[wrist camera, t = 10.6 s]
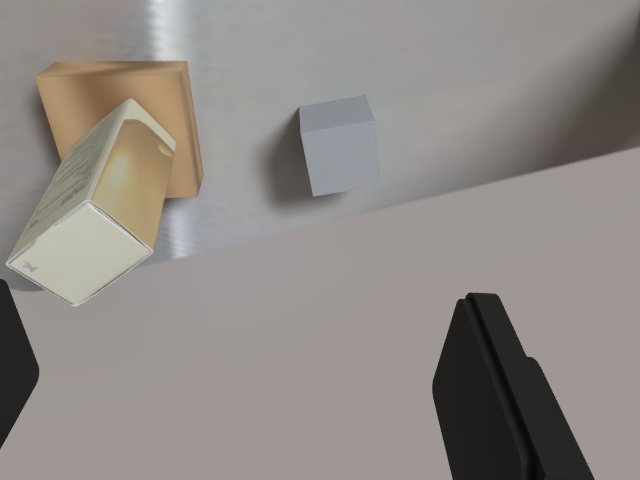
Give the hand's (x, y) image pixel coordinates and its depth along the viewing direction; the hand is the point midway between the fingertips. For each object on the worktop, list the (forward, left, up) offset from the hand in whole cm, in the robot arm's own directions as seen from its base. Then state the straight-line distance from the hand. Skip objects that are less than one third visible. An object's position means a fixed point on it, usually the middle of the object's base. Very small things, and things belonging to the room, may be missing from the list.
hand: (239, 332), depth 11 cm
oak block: (+10, +7, -29) cm, 32 cm away
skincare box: (+10, +7, -25) cm, 28 cm away
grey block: (-5, +7, -29) cm, 30 cm away
